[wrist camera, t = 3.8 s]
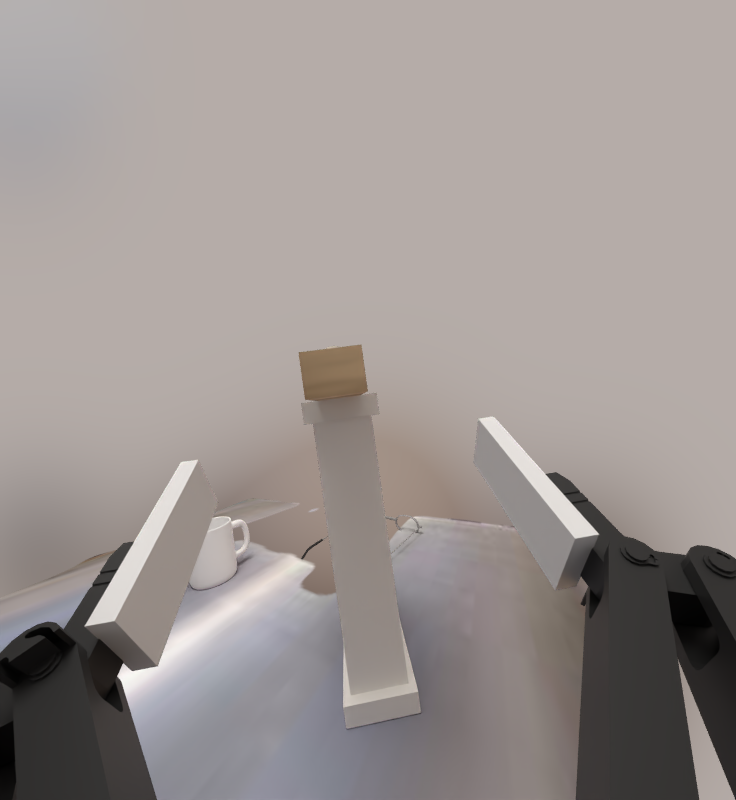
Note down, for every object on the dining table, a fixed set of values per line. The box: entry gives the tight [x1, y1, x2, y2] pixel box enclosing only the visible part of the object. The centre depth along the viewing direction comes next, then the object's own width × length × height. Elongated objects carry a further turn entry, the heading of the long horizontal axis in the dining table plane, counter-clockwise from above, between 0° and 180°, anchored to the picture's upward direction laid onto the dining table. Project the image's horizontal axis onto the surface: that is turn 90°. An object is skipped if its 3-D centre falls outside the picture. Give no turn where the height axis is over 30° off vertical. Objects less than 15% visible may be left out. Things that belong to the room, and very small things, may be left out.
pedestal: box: [301, 393, 421, 729], centre depth 36 cm, size 15×7×30 cm, turn 4°
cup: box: [189, 517, 250, 590], centre depth 61 cm, size 8×12×10 cm
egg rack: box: [299, 345, 368, 401], centre depth 32 cm, size 24×4×6 cm, turn 4°
